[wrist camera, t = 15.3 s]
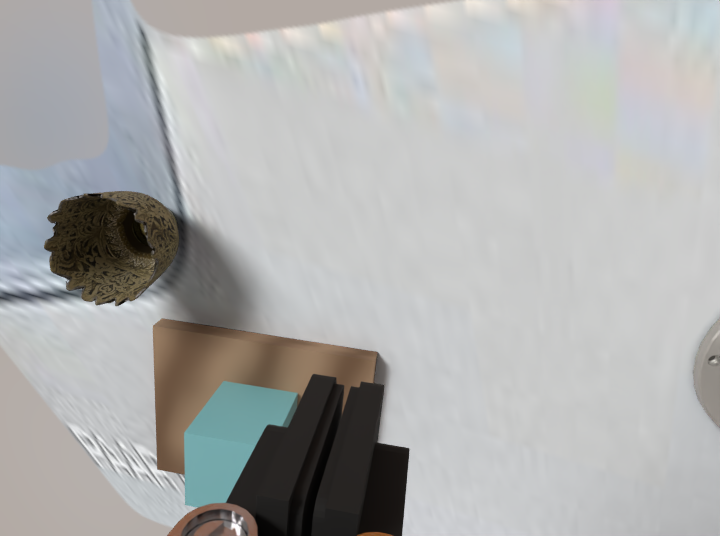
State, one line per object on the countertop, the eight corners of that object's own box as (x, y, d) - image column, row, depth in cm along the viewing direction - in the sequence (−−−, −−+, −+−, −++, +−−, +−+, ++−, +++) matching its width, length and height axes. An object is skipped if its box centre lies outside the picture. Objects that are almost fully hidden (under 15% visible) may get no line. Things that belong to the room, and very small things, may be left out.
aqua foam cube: (297, 393, 42) (271, 448, 35) (293, 457, 44) (268, 520, 37) (223, 380, 43) (184, 432, 36) (222, 444, 45) (185, 505, 38)
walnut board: (377, 352, 41) (375, 360, 40) (360, 494, 46) (357, 506, 45) (162, 318, 43) (152, 325, 42) (165, 458, 48) (157, 469, 46)
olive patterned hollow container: (191, 284, 42) (137, 324, 34) (106, 248, 42) (34, 281, 35) (216, 198, 39) (163, 222, 32) (126, 161, 40) (52, 176, 32)
